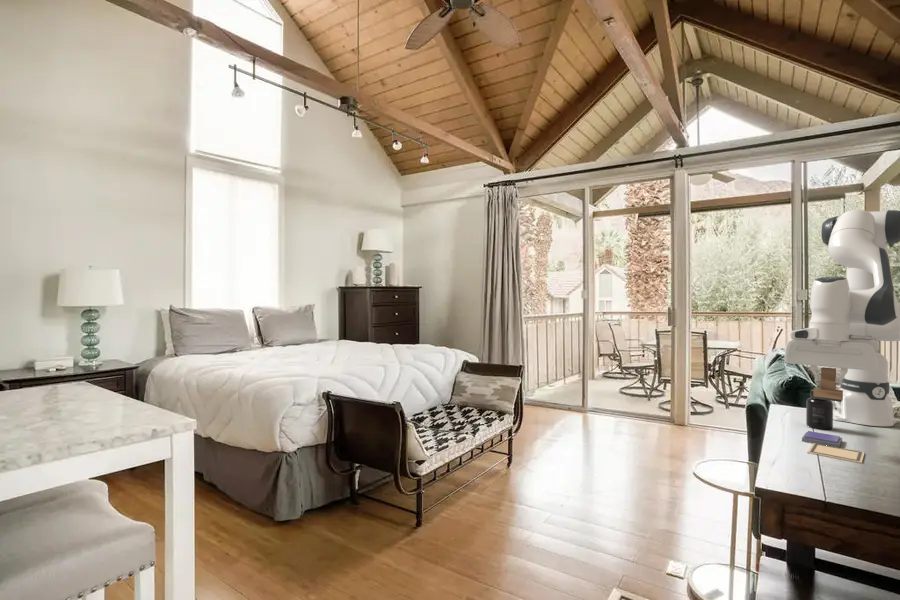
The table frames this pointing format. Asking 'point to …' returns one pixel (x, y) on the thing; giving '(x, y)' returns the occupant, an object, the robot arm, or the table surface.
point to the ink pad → (822, 439)
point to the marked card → (837, 453)
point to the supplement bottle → (819, 413)
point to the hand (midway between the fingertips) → (828, 383)
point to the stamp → (828, 386)
